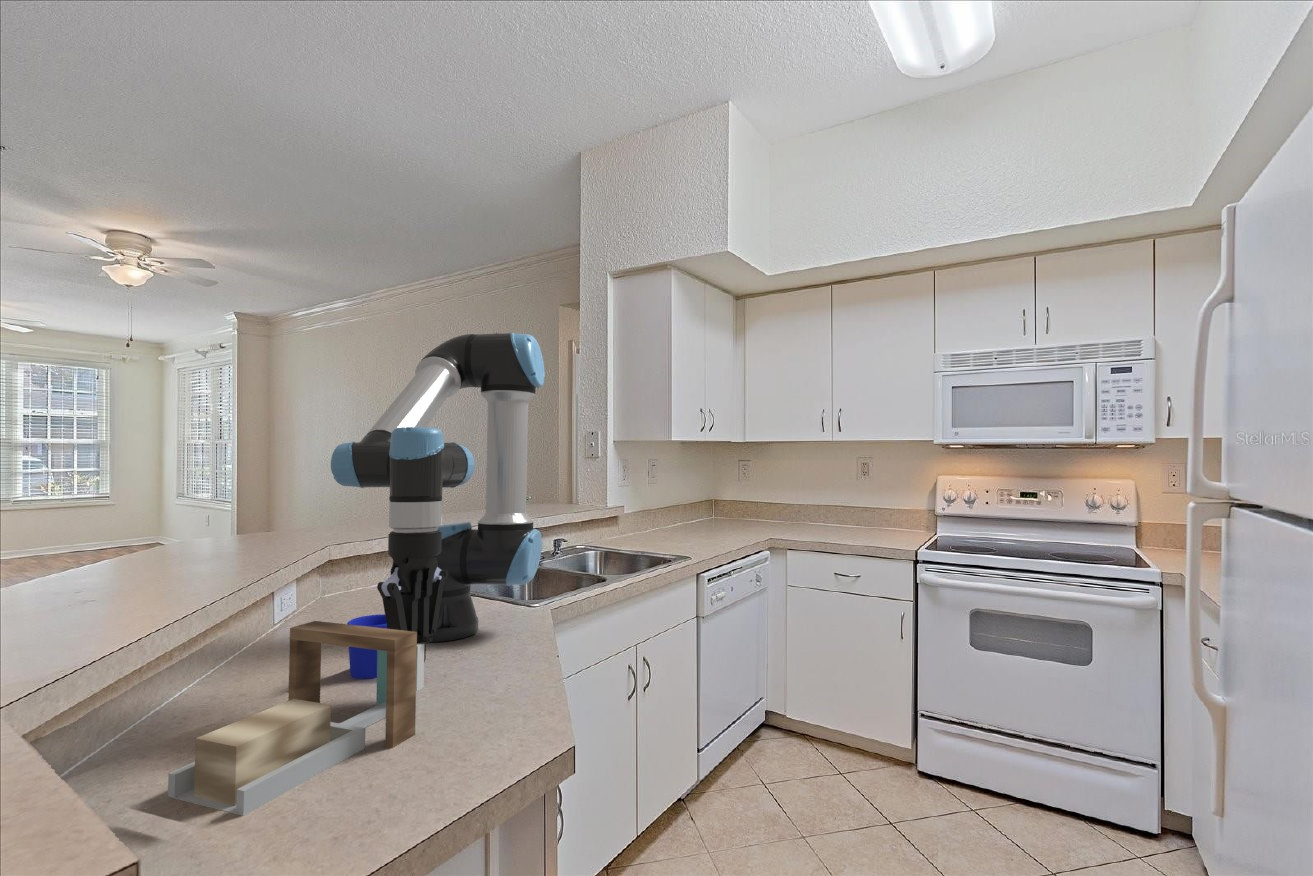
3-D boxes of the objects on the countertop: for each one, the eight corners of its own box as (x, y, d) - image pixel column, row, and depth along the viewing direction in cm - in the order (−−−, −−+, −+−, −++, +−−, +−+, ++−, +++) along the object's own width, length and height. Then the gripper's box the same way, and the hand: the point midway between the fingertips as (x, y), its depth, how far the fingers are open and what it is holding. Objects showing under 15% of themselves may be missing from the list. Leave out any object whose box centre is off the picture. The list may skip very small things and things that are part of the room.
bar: (292, 747, 79) (293, 698, 79) (329, 755, 77) (330, 704, 77) (194, 795, 67) (195, 738, 68) (234, 806, 65) (236, 746, 66)
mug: (401, 692, 101) (402, 628, 102) (334, 686, 104) (336, 624, 104) (429, 675, 109) (430, 616, 110) (367, 670, 112) (368, 613, 112)
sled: (366, 708, 93) (367, 643, 94) (427, 718, 90) (428, 650, 90) (167, 804, 67) (170, 713, 68) (243, 823, 64) (245, 727, 64)
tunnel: (312, 726, 88) (315, 620, 89) (415, 744, 83) (416, 632, 83) (287, 737, 85) (290, 627, 85) (392, 758, 79) (394, 640, 79)
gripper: (424, 524, 103) (421, 672, 102) (362, 533, 91) (359, 700, 90) (463, 526, 101) (461, 677, 100) (405, 535, 88) (402, 707, 87)
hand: (412, 688), depth 95 cm, fingers closed
